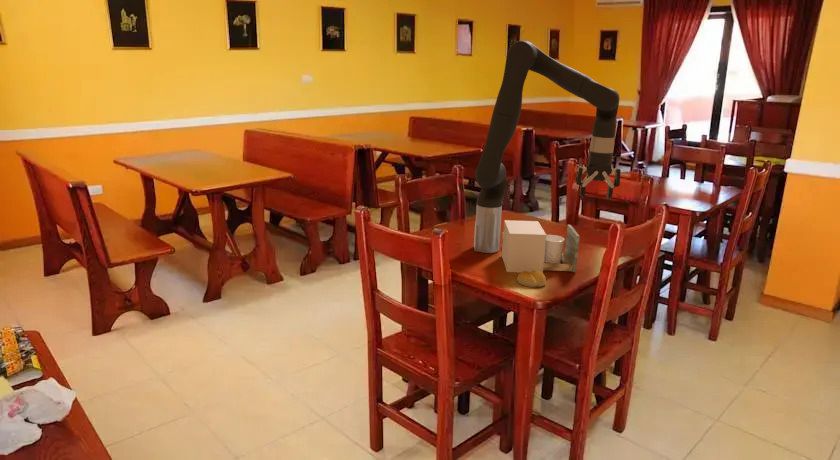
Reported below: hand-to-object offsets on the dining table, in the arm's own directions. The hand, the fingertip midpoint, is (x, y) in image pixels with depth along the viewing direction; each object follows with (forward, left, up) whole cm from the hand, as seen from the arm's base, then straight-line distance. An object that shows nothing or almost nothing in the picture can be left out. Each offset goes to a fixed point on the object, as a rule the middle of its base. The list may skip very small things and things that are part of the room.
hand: (595, 197), depth 195 cm
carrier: (-12, -2, -24) cm, 27 cm away
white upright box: (-23, -2, -24) cm, 34 cm away
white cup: (-13, -2, -24) cm, 28 cm away
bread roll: (-22, -19, -25) cm, 38 cm away
